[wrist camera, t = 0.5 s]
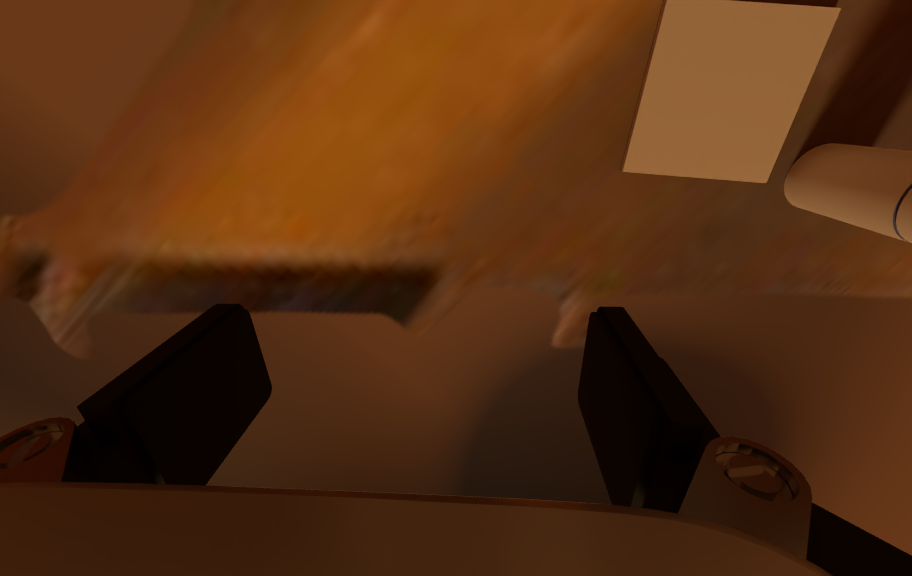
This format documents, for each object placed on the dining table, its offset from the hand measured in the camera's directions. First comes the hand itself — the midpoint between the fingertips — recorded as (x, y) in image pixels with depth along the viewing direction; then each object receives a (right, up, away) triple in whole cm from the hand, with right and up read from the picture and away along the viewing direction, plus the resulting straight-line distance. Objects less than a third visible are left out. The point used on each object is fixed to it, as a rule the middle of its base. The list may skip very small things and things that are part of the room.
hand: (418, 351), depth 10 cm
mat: (+28, +22, +29) cm, 46 cm away
